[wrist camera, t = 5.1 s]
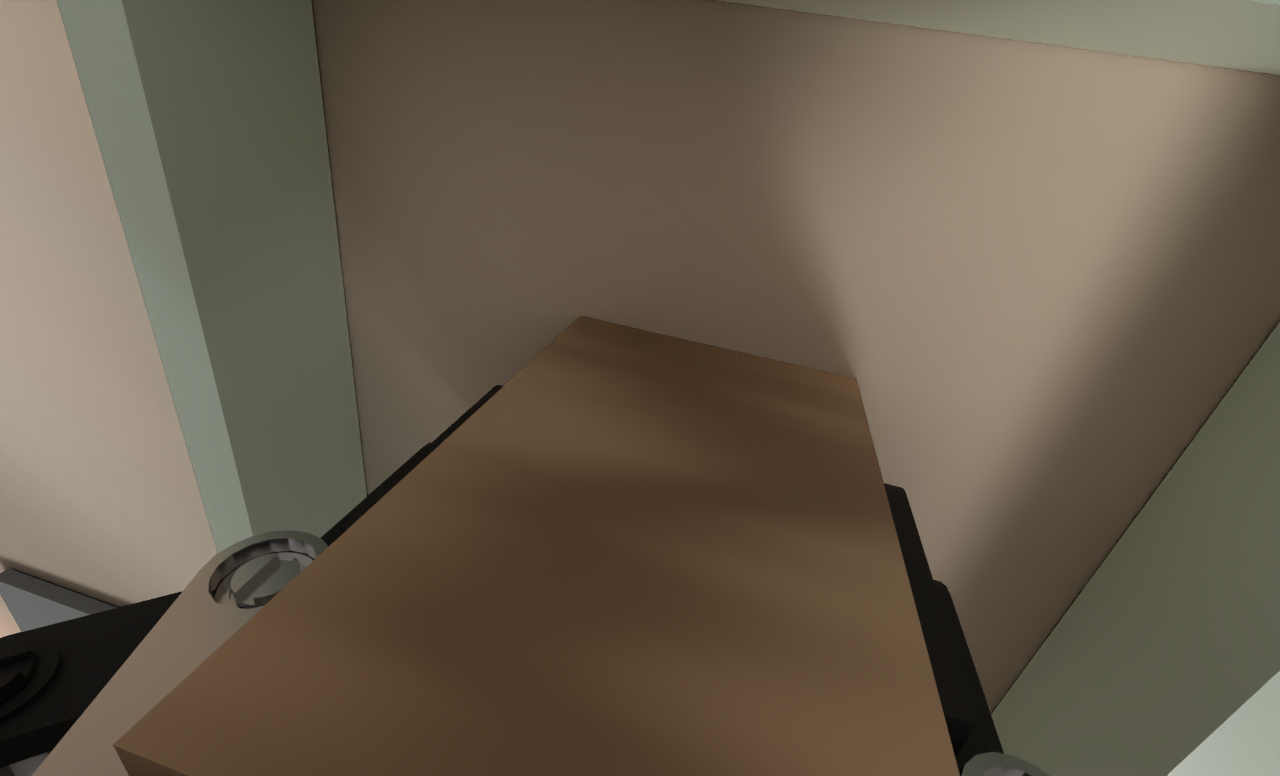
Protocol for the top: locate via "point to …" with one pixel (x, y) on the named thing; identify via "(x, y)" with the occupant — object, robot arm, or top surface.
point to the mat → (43, 601)
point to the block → (593, 595)
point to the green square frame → (326, 401)
